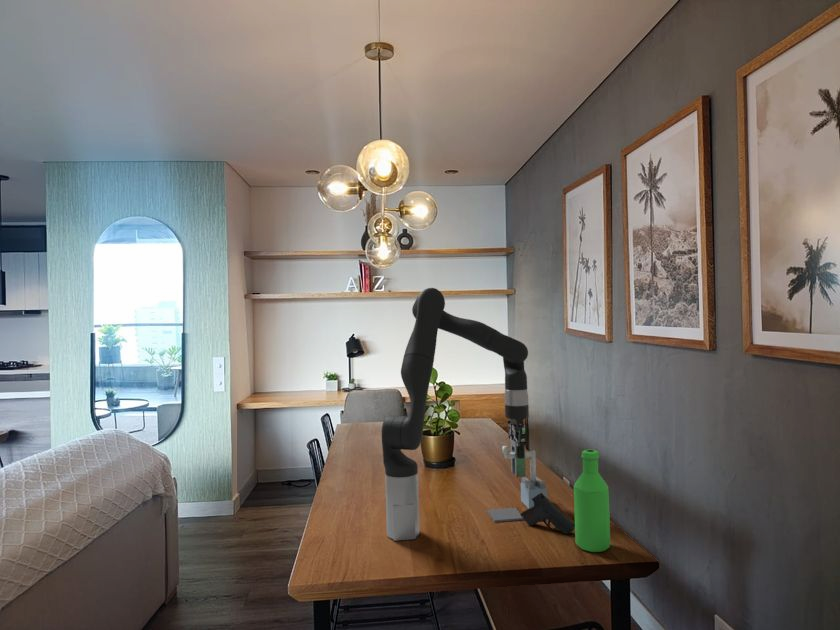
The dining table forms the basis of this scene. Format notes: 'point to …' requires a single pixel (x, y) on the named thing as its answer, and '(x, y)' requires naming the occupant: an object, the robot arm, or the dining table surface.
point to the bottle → (591, 506)
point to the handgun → (547, 515)
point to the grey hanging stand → (529, 486)
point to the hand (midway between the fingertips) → (517, 455)
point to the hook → (517, 461)
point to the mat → (504, 515)
